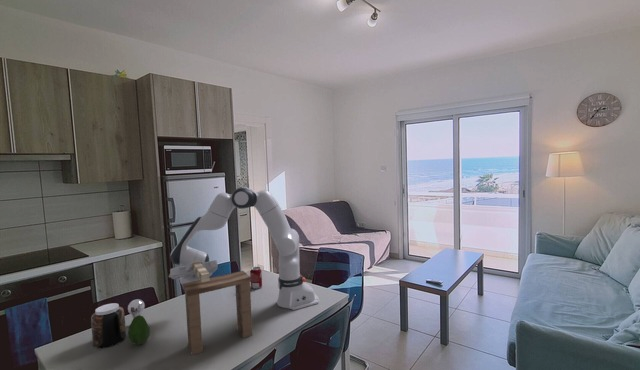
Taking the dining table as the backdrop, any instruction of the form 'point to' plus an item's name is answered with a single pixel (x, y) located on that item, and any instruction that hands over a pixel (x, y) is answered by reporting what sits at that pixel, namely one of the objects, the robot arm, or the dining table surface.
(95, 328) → the jar
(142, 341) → the avocado
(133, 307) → the light bulb
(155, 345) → the dining table surface
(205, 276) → the birch bar
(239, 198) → the robot arm
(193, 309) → the walnut shelf
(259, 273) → the soda can
